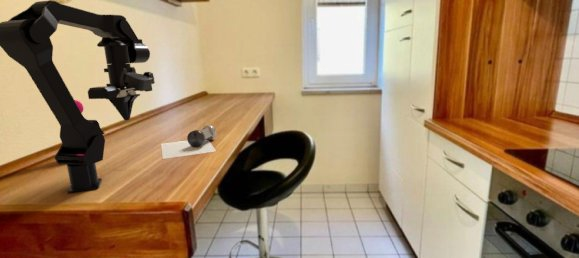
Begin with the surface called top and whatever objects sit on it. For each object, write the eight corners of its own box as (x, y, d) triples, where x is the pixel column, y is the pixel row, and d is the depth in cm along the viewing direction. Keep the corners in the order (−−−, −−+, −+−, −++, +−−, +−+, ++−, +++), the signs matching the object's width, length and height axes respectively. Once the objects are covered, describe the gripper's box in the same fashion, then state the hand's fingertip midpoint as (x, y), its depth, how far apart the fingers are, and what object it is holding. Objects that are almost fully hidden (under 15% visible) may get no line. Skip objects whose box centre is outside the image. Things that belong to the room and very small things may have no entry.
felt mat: (216, 152, 106) (216, 151, 105) (162, 159, 100) (162, 158, 100) (207, 138, 124) (206, 137, 124) (161, 144, 118) (161, 143, 118)
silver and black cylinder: (205, 142, 110) (219, 135, 120) (197, 128, 109) (211, 122, 120) (193, 150, 111) (207, 142, 122) (184, 135, 111) (199, 129, 121)
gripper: (119, 64, 80) (129, 127, 83) (164, 61, 98) (171, 114, 101) (81, 65, 83) (91, 127, 86) (132, 63, 100) (139, 114, 104)
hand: (127, 120), depth 94 cm, fingers closed
